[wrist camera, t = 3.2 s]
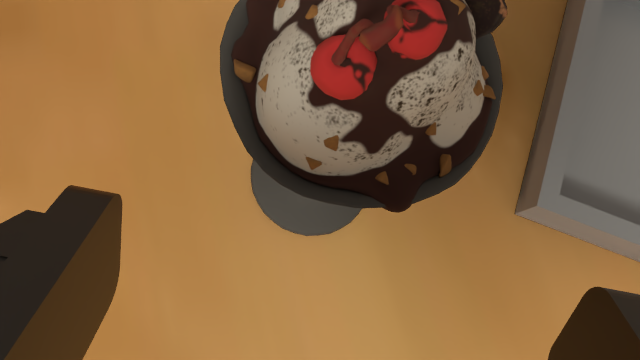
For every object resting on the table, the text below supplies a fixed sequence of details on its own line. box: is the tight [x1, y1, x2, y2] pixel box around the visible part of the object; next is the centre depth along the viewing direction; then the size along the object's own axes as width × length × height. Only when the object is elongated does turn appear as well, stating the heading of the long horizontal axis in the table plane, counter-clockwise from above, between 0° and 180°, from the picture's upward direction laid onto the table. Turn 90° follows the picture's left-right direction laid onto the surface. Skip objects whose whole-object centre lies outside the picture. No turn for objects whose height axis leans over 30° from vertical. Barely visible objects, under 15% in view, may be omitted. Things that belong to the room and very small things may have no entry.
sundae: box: [220, 0, 507, 236], centre depth 15 cm, size 7×7×15 cm
